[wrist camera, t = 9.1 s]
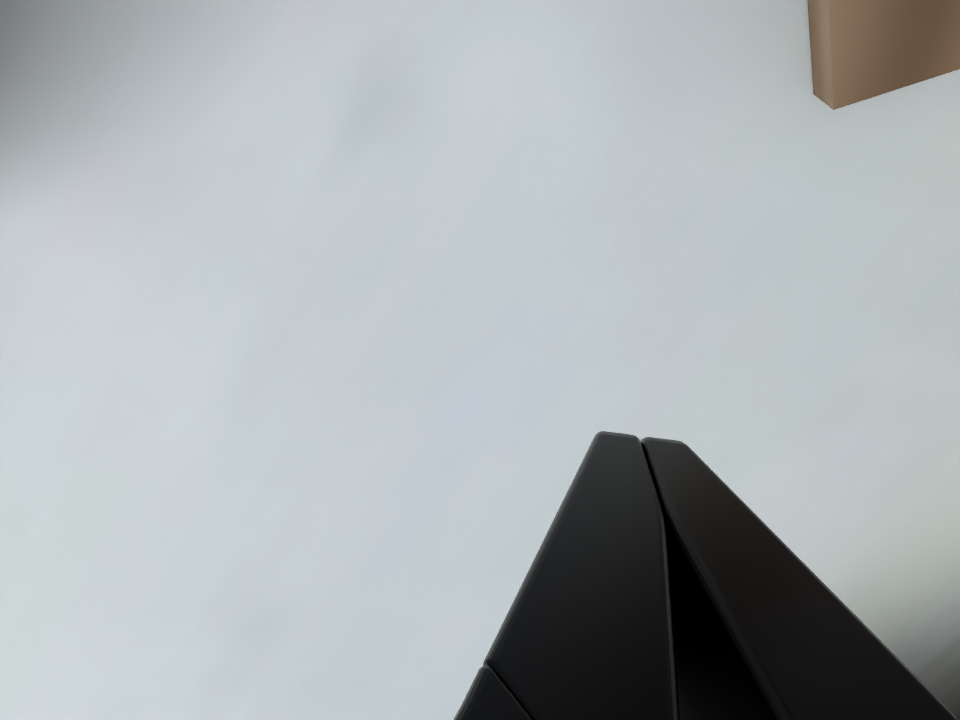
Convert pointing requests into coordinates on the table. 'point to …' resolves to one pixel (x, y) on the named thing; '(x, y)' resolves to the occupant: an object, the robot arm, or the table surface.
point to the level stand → (880, 45)
